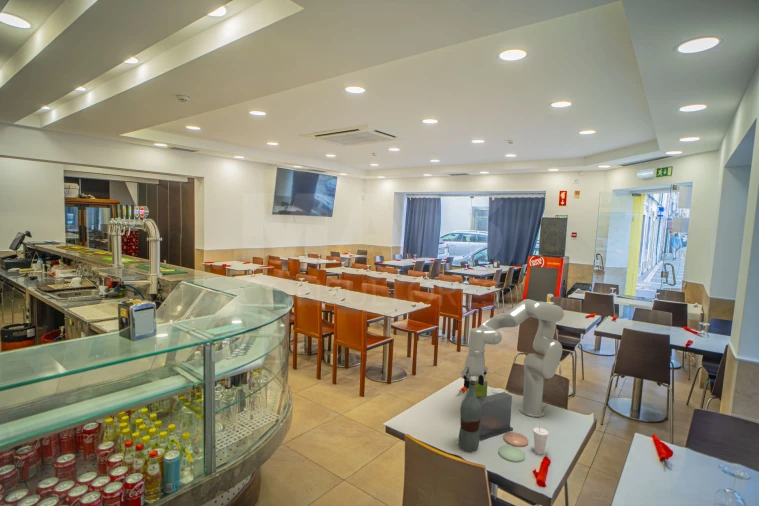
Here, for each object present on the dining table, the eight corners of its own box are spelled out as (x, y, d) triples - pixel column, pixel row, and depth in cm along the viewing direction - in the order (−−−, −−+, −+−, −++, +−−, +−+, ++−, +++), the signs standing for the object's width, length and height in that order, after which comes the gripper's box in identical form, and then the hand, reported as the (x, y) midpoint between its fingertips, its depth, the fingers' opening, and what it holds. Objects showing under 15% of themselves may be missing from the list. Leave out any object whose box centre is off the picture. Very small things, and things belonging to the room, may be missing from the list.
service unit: (502, 424, 201) (504, 390, 200) (512, 430, 195) (515, 396, 193) (468, 433, 190) (471, 398, 189) (479, 441, 184) (481, 404, 183)
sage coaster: (510, 445, 181) (510, 443, 181) (530, 458, 172) (530, 455, 172) (493, 451, 176) (493, 449, 176) (512, 464, 166) (512, 462, 166)
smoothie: (529, 448, 180) (531, 418, 179) (542, 448, 180) (544, 418, 179) (535, 456, 173) (538, 425, 172) (549, 456, 174) (552, 425, 173)
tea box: (465, 394, 235) (466, 369, 234) (482, 395, 234) (483, 370, 233) (468, 405, 220) (469, 379, 219) (486, 407, 219) (488, 380, 218)
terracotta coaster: (514, 432, 193) (514, 430, 193) (533, 443, 184) (533, 441, 184) (498, 437, 188) (498, 435, 188) (516, 449, 178) (516, 447, 178)
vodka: (455, 441, 183) (459, 377, 181) (475, 441, 184) (479, 377, 181) (461, 452, 174) (465, 386, 171) (481, 452, 174) (486, 386, 172)
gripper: (483, 349, 208) (480, 381, 210) (458, 352, 200) (455, 385, 201) (494, 353, 202) (491, 386, 203) (468, 357, 193) (465, 391, 194)
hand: (473, 386), depth 202 cm, fingers open, 9 cm apart
